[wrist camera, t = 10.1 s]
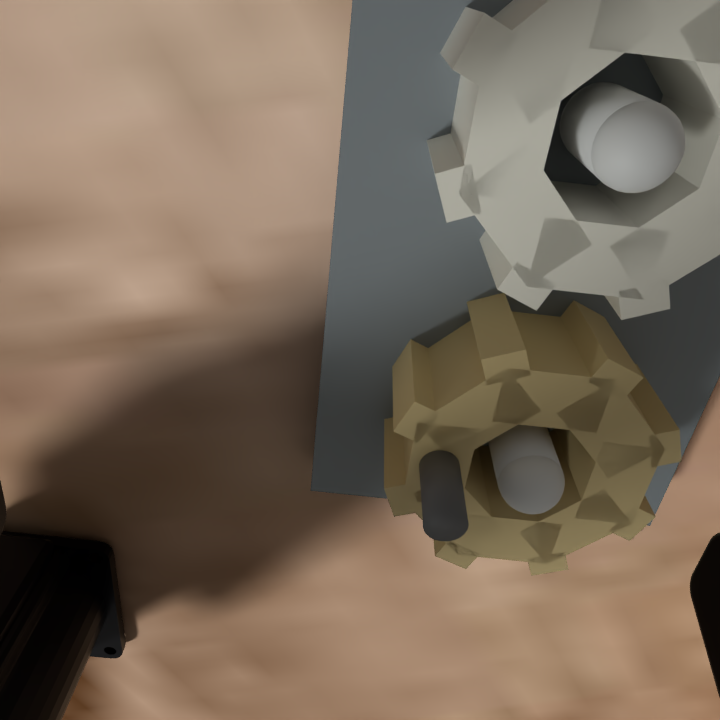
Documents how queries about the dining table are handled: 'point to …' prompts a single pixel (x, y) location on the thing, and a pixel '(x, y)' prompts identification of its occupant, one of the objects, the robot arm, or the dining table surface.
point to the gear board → (496, 321)
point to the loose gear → (533, 136)
